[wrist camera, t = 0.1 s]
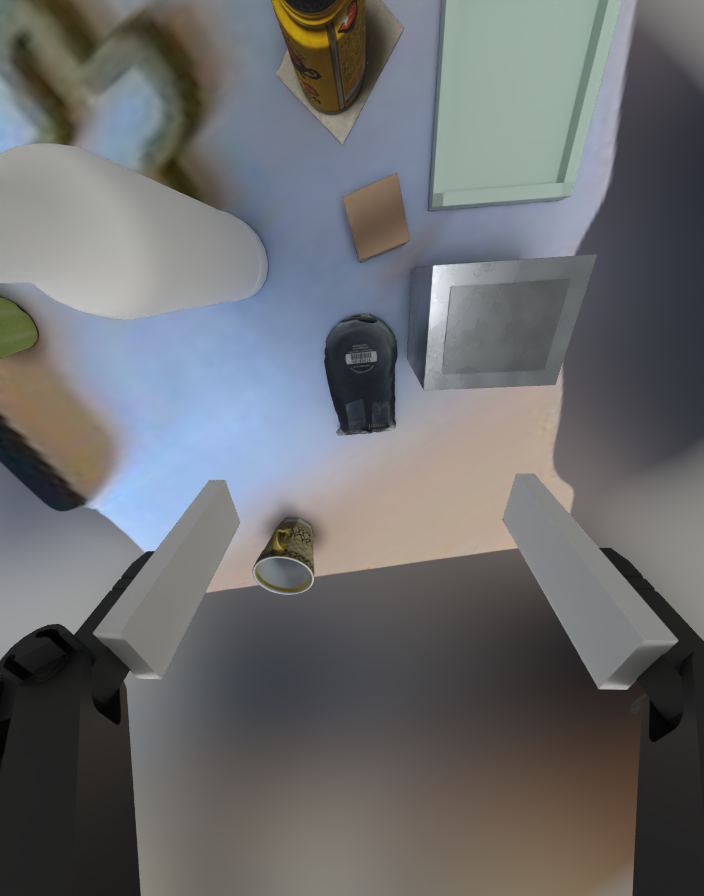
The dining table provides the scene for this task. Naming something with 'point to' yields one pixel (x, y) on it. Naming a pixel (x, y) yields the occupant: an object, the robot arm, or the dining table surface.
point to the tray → (515, 98)
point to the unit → (494, 321)
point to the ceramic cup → (287, 559)
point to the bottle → (117, 237)
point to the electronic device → (362, 375)
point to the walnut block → (377, 218)
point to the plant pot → (15, 329)
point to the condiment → (335, 55)
